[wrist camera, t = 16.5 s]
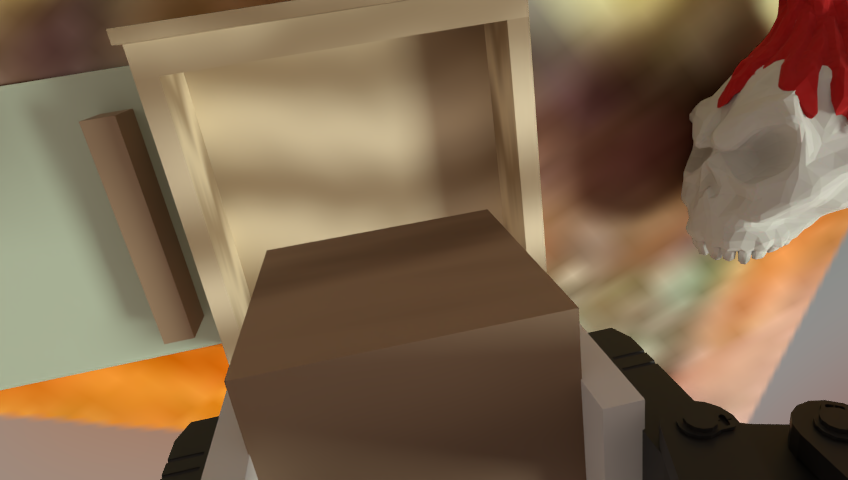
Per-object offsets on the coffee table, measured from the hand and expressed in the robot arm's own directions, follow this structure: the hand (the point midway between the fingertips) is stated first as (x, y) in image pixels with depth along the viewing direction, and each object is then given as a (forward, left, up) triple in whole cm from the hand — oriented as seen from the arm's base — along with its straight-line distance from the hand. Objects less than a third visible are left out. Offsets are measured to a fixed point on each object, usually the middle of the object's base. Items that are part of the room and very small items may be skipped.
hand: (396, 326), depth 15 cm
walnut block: (0, 0, 0) cm, 0 cm away
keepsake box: (0, 0, -17) cm, 17 cm away
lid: (0, -17, -17) cm, 24 cm away
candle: (0, +23, -17) cm, 29 cm away
